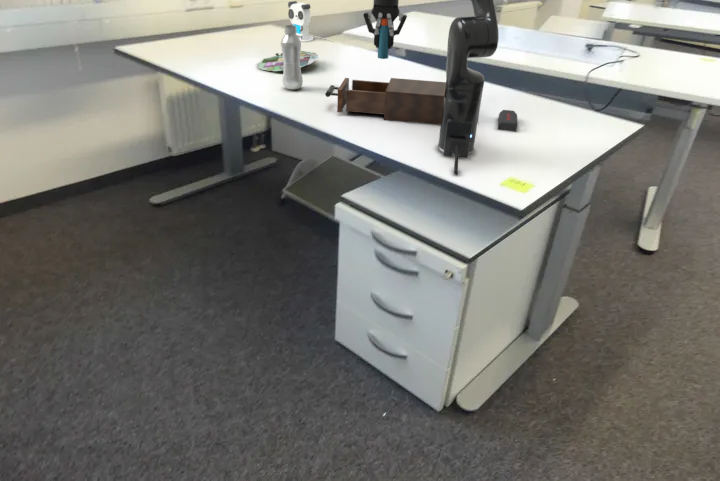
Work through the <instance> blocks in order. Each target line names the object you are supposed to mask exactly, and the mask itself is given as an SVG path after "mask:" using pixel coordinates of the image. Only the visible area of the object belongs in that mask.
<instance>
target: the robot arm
mask: <svg viewBox="0 0 720 481" xmlns="http://www.w3.org/2000/svg"><path fill="white" fill-rule="evenodd" d="M470 2H471V6H472V10H473V15H472V16H469V15H468V16H458V17H455V18H454V19H453V20H452V22H451V23H450V26H449V31H448V36H447V47H446V48H447V50H446V63H445V77H446V78H445V82H446V86H445V95H444V102H443V111H442V119H441V125H440V128H439V138H438V144H437V151H439V153H441V154H442V155H443V156H444V157H453V158H454V165H453V174H454V175H458V173H459V169H458V168H459V159H460V158H463V159H468V157H470V156H472V155H473V154H474V151H475V142H476V135H477V129H478V123H479V116H480V110H481V104H482V97H483V91H484V85H485V76H484V74H483V73H481V72H480V71H477V70H475V69H472V68H469V66H468V60H469V59H479V58H480V59H481V58H489V57H492V56H493V55H494V54H495V53H496V51H497V49H498V46H499V23H498V17H497V13H496V7H495V0H470ZM372 17H373V18H374V19H375V21H376V24H375V28H374V26H373V23H372V20H371V19H372ZM382 18H387V20H388V27H389V32H390V36H389V44H388V49H389V50H390V49H392V47H393V46H394V43H395V42H394V40H395V36H398V35H400V33H401V31H402V30H403V26H404V25H405V22H406V20H407V18H408V15H407V14H405V13H402V12H400V9H399V0H373V5H372V9H371V10H369V11H365V12H364V13H363V19H364V22H365V25H366V28H367V31H368V33H370V34H372V35H373V46H375V48H376V49H378V41H379V28H380V24H381V19H382ZM397 18H398V21H399V24H398V26H397V29H395V24H394V22H395V21H396V19H397Z"/></svg>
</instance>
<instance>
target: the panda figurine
mask: <svg viewBox="0 0 720 481" xmlns="http://www.w3.org/2000/svg"><path fill="white" fill-rule="evenodd" d="M287 5H288V6H287V8H289V9H288V12H287V14H288V16H287V17H288V18H289V21H290V23H291V24H290V25H294V26H296V31H297V33H296V35H297V36H298V38H299V39H300V41H301V43H306V42H312V41H314V37H313V36H311V35H309V34H310V33H309V25H310V24H311V20H312V19H311V18H312V17H311V4H310V3H305V2H298V1H297V0H292V1H288V3H287Z"/></svg>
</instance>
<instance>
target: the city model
mask: <svg viewBox="0 0 720 481" xmlns="http://www.w3.org/2000/svg"><path fill="white" fill-rule="evenodd" d="M318 59H319V54H318V53H317V52H316V51H315V52H314V51H305V50H301V52H300V68H301V69H302V68H303V67H306V66H309V65H312V64H313V63H314V62H317V60H318ZM283 61H284V60H283V54H282V52H281V53H279V52H277V53H275V55H273V56H270V57H266V58H265V57H264V58H263V59H262V60H261V62H260V63H258V70H261V71H266V72H270V71H272V72H281V71H282V72H283V71H284V63H283Z"/></svg>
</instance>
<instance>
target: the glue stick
mask: <svg viewBox="0 0 720 481" xmlns="http://www.w3.org/2000/svg"><path fill="white" fill-rule="evenodd" d="M389 36H390V32H389V27H388V20H387V18H382V19H381V24H380V28H379V41H378V48H377V59H381V60H386V59H387V60H388V59H389V52H390V49H388V44H389Z"/></svg>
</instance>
